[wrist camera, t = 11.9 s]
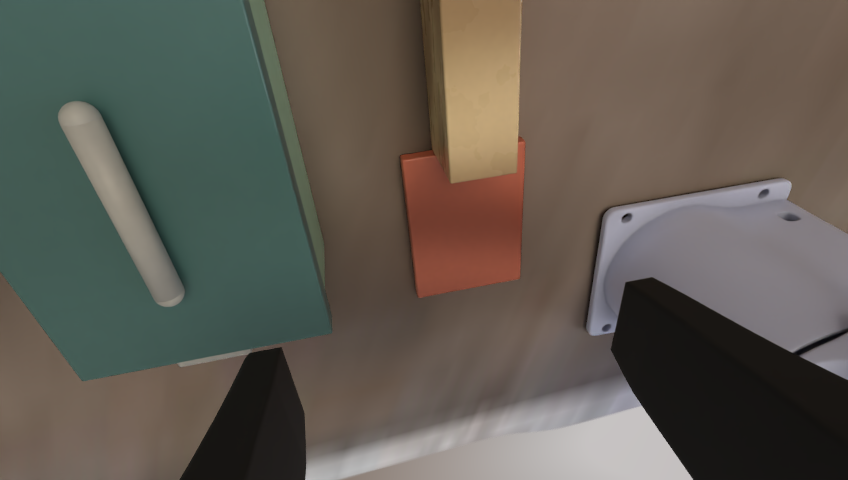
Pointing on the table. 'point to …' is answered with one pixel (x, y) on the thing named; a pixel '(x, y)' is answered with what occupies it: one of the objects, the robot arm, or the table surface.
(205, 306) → the tiffin box
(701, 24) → the table surface
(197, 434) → the table surface
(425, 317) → the table surface
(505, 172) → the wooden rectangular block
